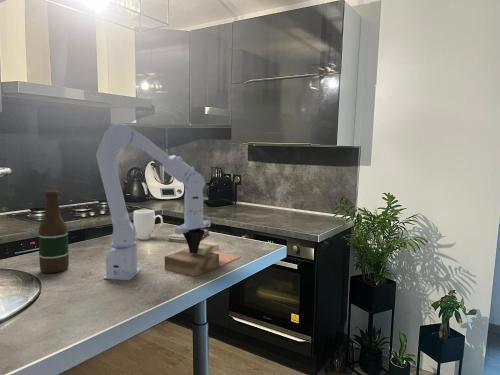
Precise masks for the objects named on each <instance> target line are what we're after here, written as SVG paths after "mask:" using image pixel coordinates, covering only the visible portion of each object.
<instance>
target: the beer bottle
mask: <svg viewBox="0 0 500 375" xmlns="http://www.w3.org/2000/svg"><path fill="white" fill-rule="evenodd" d="M44 195H45V215H44V218H43V219H42V221H41V223H40V225H39V228H38V255H39V256H38V257H39V270H40V271H41V272H43V273H45V274H51V273H52V274H55V273H59V272H60V273H61V272H63V271H66V270H67V269H68V268H69V265H70V264H69V263H70V262H69V232H68V231H69V230H68V225H67V223H66V221H65V219H63V217H62V216H61V210H60V200H59V195H60V191H59V190H55V189H53V190H51V189H50V190H46V191H45V193H44Z"/></svg>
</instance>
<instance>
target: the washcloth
mask: <svg viewBox="0 0 500 375" xmlns="http://www.w3.org/2000/svg"><path fill="white" fill-rule="evenodd" d="M204 230H205V233H204V235H203V236H205V235H206V236H208V235H209V233H210V231H209V229H204ZM207 234H208V235H207ZM206 236H205V237H206ZM166 238H167V242H171V243H178V244H188V243H187V241H186V239H185V237H184V235H183V233H182V234H181V235H179V234H175V232H174V233H172V234H169V235H167V236H166Z"/></svg>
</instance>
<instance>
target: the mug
mask: <svg viewBox="0 0 500 375" xmlns="http://www.w3.org/2000/svg"><path fill="white" fill-rule="evenodd" d="M157 218H160V225H159V226H158V227H157V228H156V229H155V230H154V227H155V222H156V219H157ZM133 224H134V226H135V234H136V235H137V238H138V239H139V240H142V241H143V240H149V239H150V238H151V236H152V234H153V233H155V232H157V231H158V230H159V229H160V228H161V227H162V226H163V224H164V220H163V216H162V215H160V214H157V215H156V213H155V210H153V209H146V208H145V209H136V210H134V211H133ZM153 230H154V231H153Z"/></svg>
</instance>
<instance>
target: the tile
mask: <svg viewBox="0 0 500 375" xmlns="http://www.w3.org/2000/svg"><path fill="white" fill-rule="evenodd" d="M219 246H220V244H218V243H213V242H208V241H202V242H200V244H199V248H198V252H197V253H195V254H199V255H206V254H209V253H212V252H215V251H219V250H220V247H219ZM189 252H190V251H189Z"/></svg>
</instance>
